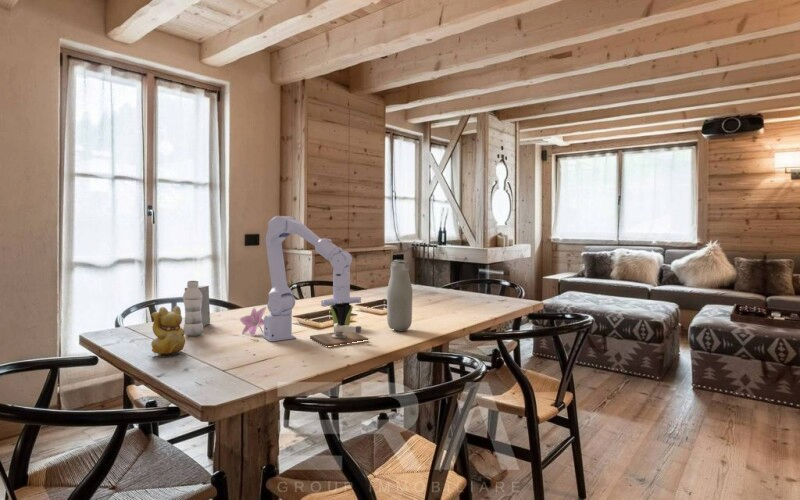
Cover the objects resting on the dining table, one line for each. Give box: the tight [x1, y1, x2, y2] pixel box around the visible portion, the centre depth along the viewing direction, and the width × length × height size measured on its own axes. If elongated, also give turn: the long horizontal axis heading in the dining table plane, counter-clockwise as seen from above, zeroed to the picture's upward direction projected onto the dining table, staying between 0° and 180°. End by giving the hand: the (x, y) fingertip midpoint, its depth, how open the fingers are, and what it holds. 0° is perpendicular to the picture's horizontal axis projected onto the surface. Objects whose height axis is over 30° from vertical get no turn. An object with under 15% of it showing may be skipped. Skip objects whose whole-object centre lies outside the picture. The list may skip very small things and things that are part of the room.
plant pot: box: [329, 304, 354, 326], centre depth 185 cm, size 9×9×9 cm
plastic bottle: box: [182, 280, 204, 337], centre depth 168 cm, size 6×7×20 cm
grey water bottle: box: [386, 259, 413, 331], centre depth 182 cm, size 10×10×28 cm
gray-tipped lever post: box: [333, 323, 362, 334], centre depth 165 cm, size 4×10×3 cm, turn 77°
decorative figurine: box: [150, 305, 186, 358], centre depth 145 cm, size 10×8×15 cm
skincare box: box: [184, 285, 211, 328], centre depth 185 cm, size 8×7×16 cm
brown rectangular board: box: [309, 331, 369, 347], centre depth 166 cm, size 16×14×3 cm
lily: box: [239, 306, 267, 338], centre depth 174 cm, size 12×12×10 cm
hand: (341, 325), depth 162 cm, fingers closed
